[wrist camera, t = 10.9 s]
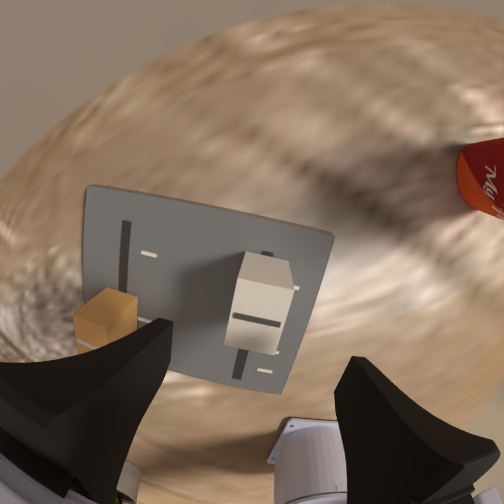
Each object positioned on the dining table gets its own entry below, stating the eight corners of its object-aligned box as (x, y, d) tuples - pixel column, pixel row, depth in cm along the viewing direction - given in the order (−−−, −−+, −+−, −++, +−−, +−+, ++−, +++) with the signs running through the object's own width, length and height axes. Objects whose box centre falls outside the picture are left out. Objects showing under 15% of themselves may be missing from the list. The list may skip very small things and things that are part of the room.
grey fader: (273, 314, 19) (274, 356, 14) (234, 305, 19) (223, 345, 14) (288, 260, 18) (294, 291, 13) (246, 251, 18) (237, 278, 13)
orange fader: (137, 339, 20) (110, 375, 16) (108, 329, 20) (78, 361, 16) (137, 296, 19) (106, 328, 15) (107, 287, 19) (71, 314, 15)
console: (280, 385, 22) (280, 395, 21) (94, 334, 22) (87, 341, 21) (331, 232, 19) (335, 236, 17) (95, 184, 19) (86, 185, 17)
